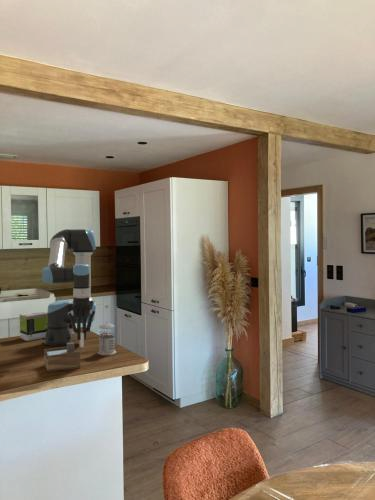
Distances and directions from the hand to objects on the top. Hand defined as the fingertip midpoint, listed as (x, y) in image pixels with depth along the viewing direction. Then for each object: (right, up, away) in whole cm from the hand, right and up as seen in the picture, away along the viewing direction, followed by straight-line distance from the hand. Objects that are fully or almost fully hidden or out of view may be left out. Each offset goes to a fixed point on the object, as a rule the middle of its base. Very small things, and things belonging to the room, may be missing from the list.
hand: (81, 346), depth 196 cm
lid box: (-8, -9, -4) cm, 12 cm away
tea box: (-41, -7, +51) cm, 66 cm away
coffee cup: (-24, -7, +60) cm, 65 cm away
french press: (+8, -8, +19) cm, 22 cm away
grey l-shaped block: (-8, -4, -4) cm, 10 cm away
